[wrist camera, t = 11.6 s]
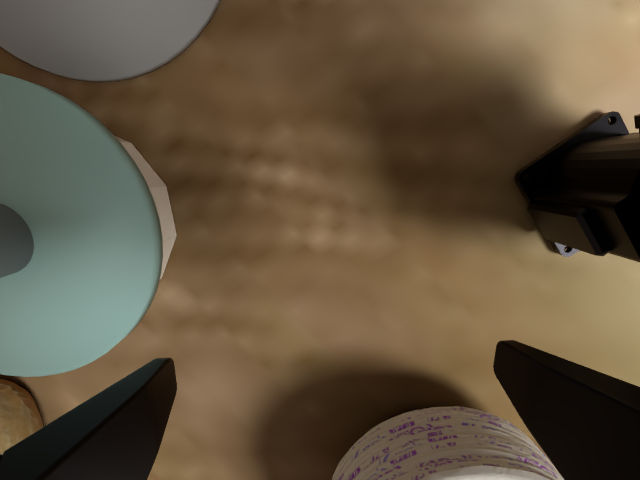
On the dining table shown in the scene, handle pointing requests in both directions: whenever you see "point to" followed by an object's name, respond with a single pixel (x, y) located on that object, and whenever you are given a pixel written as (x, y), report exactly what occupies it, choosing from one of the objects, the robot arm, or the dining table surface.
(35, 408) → the bread roll
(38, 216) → the lid
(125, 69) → the mat
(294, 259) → the dining table surface
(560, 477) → the paper bowls
